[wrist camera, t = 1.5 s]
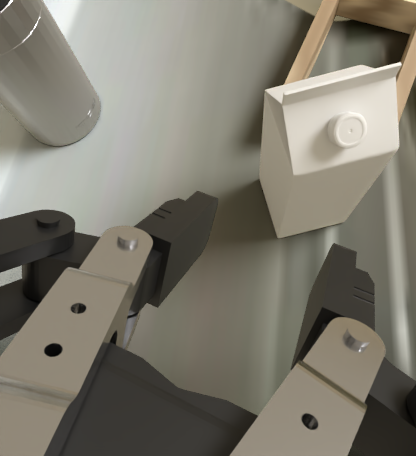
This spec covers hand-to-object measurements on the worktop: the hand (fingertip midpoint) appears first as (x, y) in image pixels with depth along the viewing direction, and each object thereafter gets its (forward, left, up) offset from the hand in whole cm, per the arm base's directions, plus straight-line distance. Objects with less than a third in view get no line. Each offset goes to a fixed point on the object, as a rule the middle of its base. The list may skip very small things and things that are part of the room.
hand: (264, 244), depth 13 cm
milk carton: (0, +13, -26) cm, 29 cm away
